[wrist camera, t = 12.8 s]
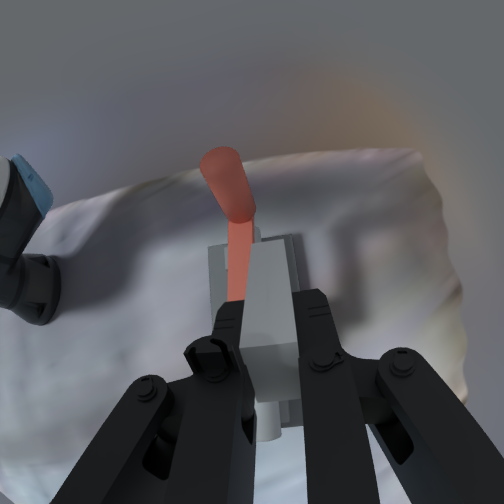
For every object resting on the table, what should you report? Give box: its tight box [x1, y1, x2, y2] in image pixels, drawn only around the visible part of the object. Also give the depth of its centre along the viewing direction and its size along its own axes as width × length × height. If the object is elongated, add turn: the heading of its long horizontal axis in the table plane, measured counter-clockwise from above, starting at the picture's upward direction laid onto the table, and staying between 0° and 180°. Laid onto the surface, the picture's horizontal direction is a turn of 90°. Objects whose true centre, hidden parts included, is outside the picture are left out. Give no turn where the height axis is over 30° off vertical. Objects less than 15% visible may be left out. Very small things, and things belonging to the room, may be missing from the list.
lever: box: [200, 147, 256, 302], centre depth 22 cm, size 15×3×9 cm, turn 1°
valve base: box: [208, 226, 303, 442], centre depth 30 cm, size 12×26×11 cm, turn 6°
